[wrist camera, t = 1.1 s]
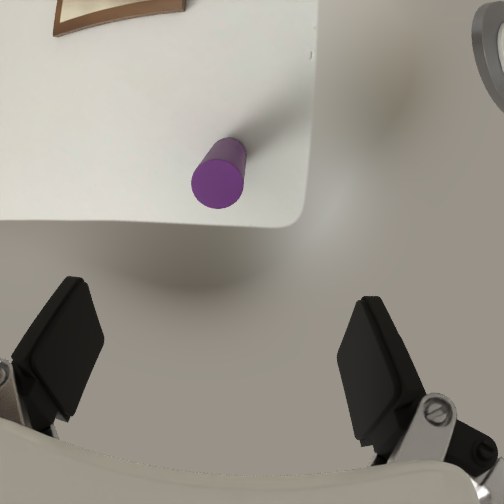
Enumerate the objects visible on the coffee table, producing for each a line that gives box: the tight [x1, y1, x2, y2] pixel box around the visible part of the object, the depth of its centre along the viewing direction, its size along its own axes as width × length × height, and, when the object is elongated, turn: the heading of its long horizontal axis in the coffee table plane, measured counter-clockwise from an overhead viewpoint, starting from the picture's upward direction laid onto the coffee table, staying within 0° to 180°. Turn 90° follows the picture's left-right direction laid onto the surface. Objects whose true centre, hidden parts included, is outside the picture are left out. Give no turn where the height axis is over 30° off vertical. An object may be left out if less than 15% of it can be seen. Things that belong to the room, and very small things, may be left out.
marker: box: [191, 138, 246, 209], centre depth 22 cm, size 3×3×10 cm
